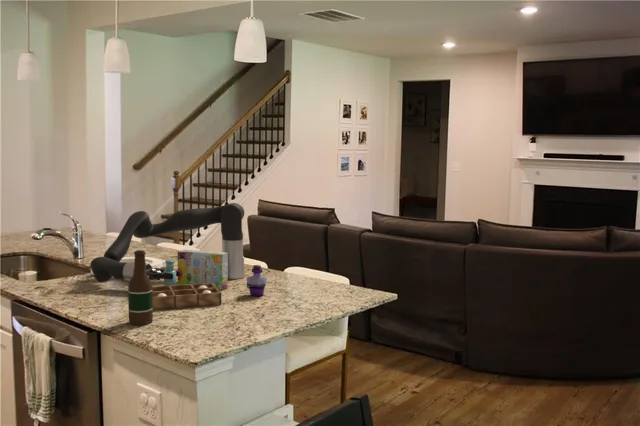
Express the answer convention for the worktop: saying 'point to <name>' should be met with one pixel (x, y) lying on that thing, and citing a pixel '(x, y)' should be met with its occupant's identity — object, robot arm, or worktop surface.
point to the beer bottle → (140, 293)
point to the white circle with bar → (152, 261)
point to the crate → (185, 296)
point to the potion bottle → (256, 282)
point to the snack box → (203, 268)
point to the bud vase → (170, 270)
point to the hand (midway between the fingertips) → (176, 275)
